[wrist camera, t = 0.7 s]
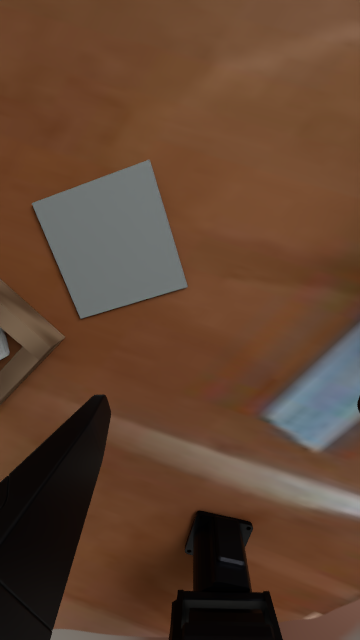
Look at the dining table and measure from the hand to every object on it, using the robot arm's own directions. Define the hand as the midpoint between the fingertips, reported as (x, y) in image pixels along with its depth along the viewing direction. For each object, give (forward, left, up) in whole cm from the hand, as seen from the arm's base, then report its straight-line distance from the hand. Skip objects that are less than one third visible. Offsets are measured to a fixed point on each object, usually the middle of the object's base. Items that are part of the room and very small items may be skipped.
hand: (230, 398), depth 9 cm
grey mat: (+3, +9, -14) cm, 17 cm away
